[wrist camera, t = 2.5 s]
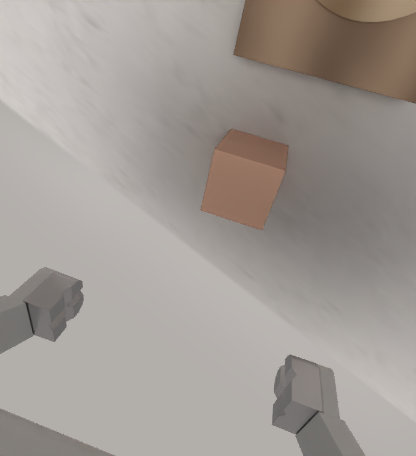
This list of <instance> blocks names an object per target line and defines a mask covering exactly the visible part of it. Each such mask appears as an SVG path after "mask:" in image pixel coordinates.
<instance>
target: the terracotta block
mask: <svg viewBox="0 0 416 456" xmlns="http://www.w3.org/2000/svg"><path fill="white" fill-rule="evenodd" d="M287 154H288V145H285V144H281V143H278V142H274V141H271V140H268V139H264V138H261V137H257V136H254V135H251V134H247V133H244V132H240V131H237V130H234V129H231V130H230V131H229V132H228V134H227V135H226V136H225V137H224V138H223V140H222V141H221V142H220V143H219V144H218V146H217V147H216V148H215V150H214V154H213V158H212V163H211V167H210V171H209V176H208V180H207V184H206V189H205V193H204V197H203V202H202V206H201V210H202V211H205V212H208V213H211V214H214V215H217V216H220V217H223V218H226V219H229V220H232V221H235V222H238V223H241V224H244V225H247V226H250V227H253V228H256V229H260V230H263V227H264V224H265V222H266V219H267V217H268V214H269V212H270V209H271V207H272V204H273V202H274V199H275V197H276V194H277V192H278V189H279V187H280V184H281V181H282V179H283V176H284V174H285V171H286V163H287Z"/></svg>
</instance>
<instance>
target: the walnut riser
mask: <svg viewBox="0 0 416 456" xmlns="http://www.w3.org/2000/svg"><path fill="white" fill-rule="evenodd" d="M234 55H236V56H239V57H243V58H247V59H251V60H254V61H258V62H262V63H266V64H269V65H273V66H277V67H281V68H285V69H288V70H292V71H296V72H300V73H303V74H307V75H311V76H315V77H318V78H322V79H326V80H330V81H333V82H337V83H341V84H345V85H348V86H352V87H356V88H360V89H363V90H367V91H371V92H375V93H378V94H382V95H386V96H390V97H393V98H397V99H401V100H405V101H409V102H412V103H416V0H246V1H245V5H244V10H243V14H242V19H241V23H240V28H239V32H238V37H237V41H236V46H235V50H234Z"/></svg>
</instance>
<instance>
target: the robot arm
mask: <svg viewBox="0 0 416 456" xmlns="http://www.w3.org/2000/svg"><path fill="white" fill-rule="evenodd" d="M82 287H83V285H82V281H81V280H78V279H76V278H73V277H70V276H67V275H65V274H62V273H60V272H57V271H55V270H52V269H49V268H46V267H45V268H42V269H40V270H39V271H38V272H36V273H35V274H34V275H33V276H32V277H31V278H30V279H28V280H27V281H26V282H25V283H24V284H23V285H21V286H20V287H19V288H18V289H17V290H16V291H14V292H13V293H12V294H11V295H10V296H6V295H4V296H2V297H0V354H1V353H3V352H5V351H6V350H8V349H10V348H12V347H14V346H16V345H18V344H19V343H21V342H23V341H25V340H27V339H29V338H30V337H32V336H33V335H36V336H39V337H42V338H45V339H48V340H51V341H53V342H55V341H56V339H57V338H58V337H59V336H60V335H61V333H62V332H63V331H64V330H65V328H66V321H68V320H70V319H72V318H74V317H75V316H76V315H77V313H78V312H79V310H80V308H81V306H82V304H83V300H84V299H83V294H82V293H81V291H80V290H81V289H82ZM274 393H275V395H276V397H277V400H276V402H275V403H274V404H273V418H272V419H273V420H272V425H274V426H277V427H279V428H282V429H284V430H286V431H289V432H291V433H294V434H296V438H297V441H298V443H299V446H300V448H301V451H302V453H303V456H365V454H364V453H363V451H362V449H361V448H360V446H359V444H358V443H357V441H356V439H355V438H354V436H353V434H352V433H351V431H350V430H349V428H348V426H347V425H346V423H345V421H343V420H341V419H340V417H339V409H338V401H337V394H336V386H335V378H334V373H333V371H332V369H330V368H327V367H324V366H321V365H318V364H316V363H314V362H311V361H308V360H305V359H302V358H299V357H296V356H293V355H288V356H287V358H286V359H285V365H283V366H281V367H280V368H279V370H278V372H277V375H276V379H275V384H274ZM0 456H114V455H112V454H110V453H107V452H105V451H102V450H100V449H98V448H95V447H93V446H90V445H88V444H85V443H83V442H80V441H78V440H76V439H73V438H71V437H68V436H66V435H64V434H61V433H59V432H56V431H54V430H51V429H49V428H47V427H44V426H42V425H39V424H37V423H34V422H32V421H29V420H27V419H25V418H22V417H20V416H17V415H15V414H12V413H10V412H8V411H5V410H3V409H0Z"/></svg>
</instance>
